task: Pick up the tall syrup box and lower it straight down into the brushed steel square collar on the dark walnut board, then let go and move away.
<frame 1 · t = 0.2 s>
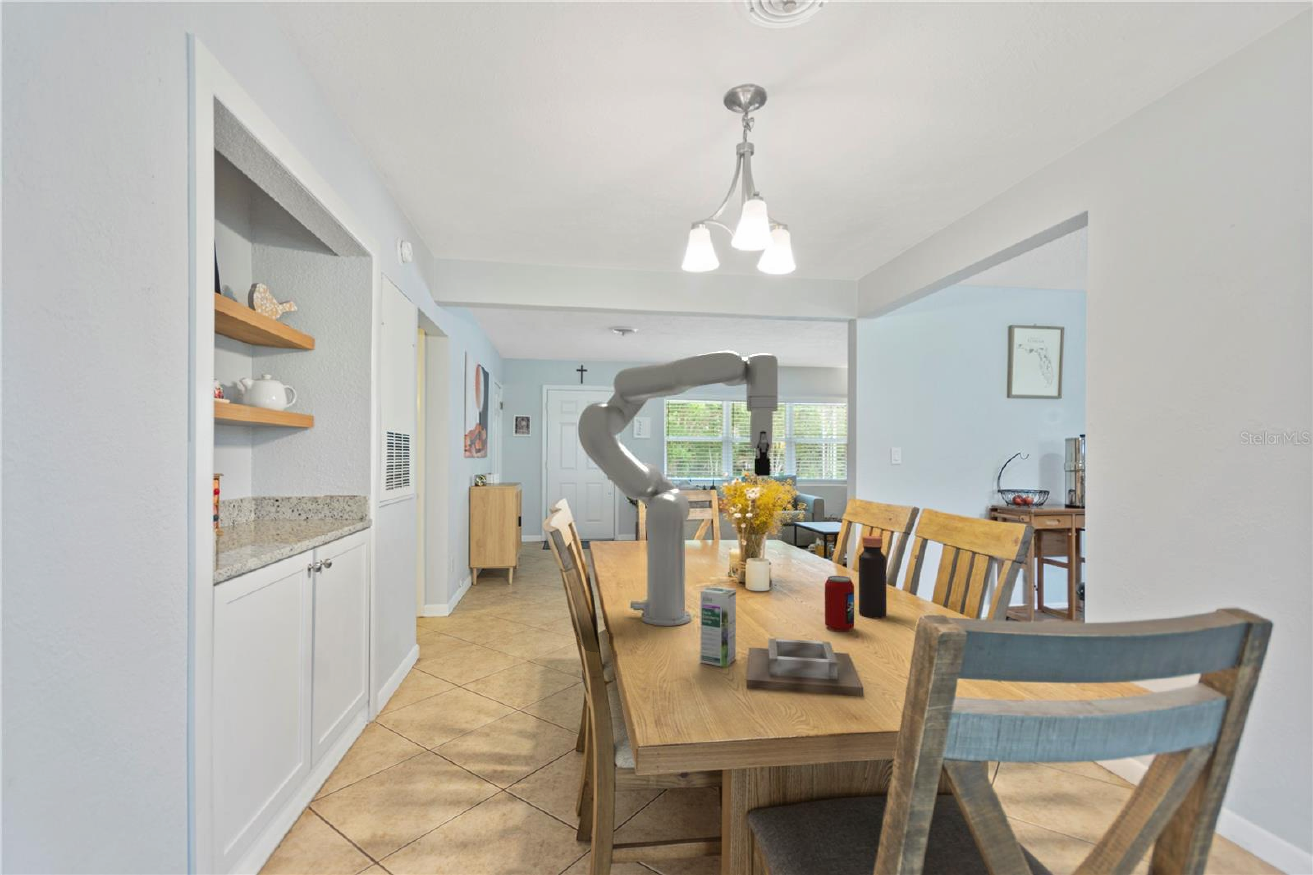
hand: (761, 474, 149), 36 cm above the table, tool pointing down, fingers open, 9 cm apart
bottle: (872, 615, 158), on the table
syrup box: (718, 662, 123), on the table
collar board: (800, 673, 116), on the table
beverage can: (839, 629, 146), on the table
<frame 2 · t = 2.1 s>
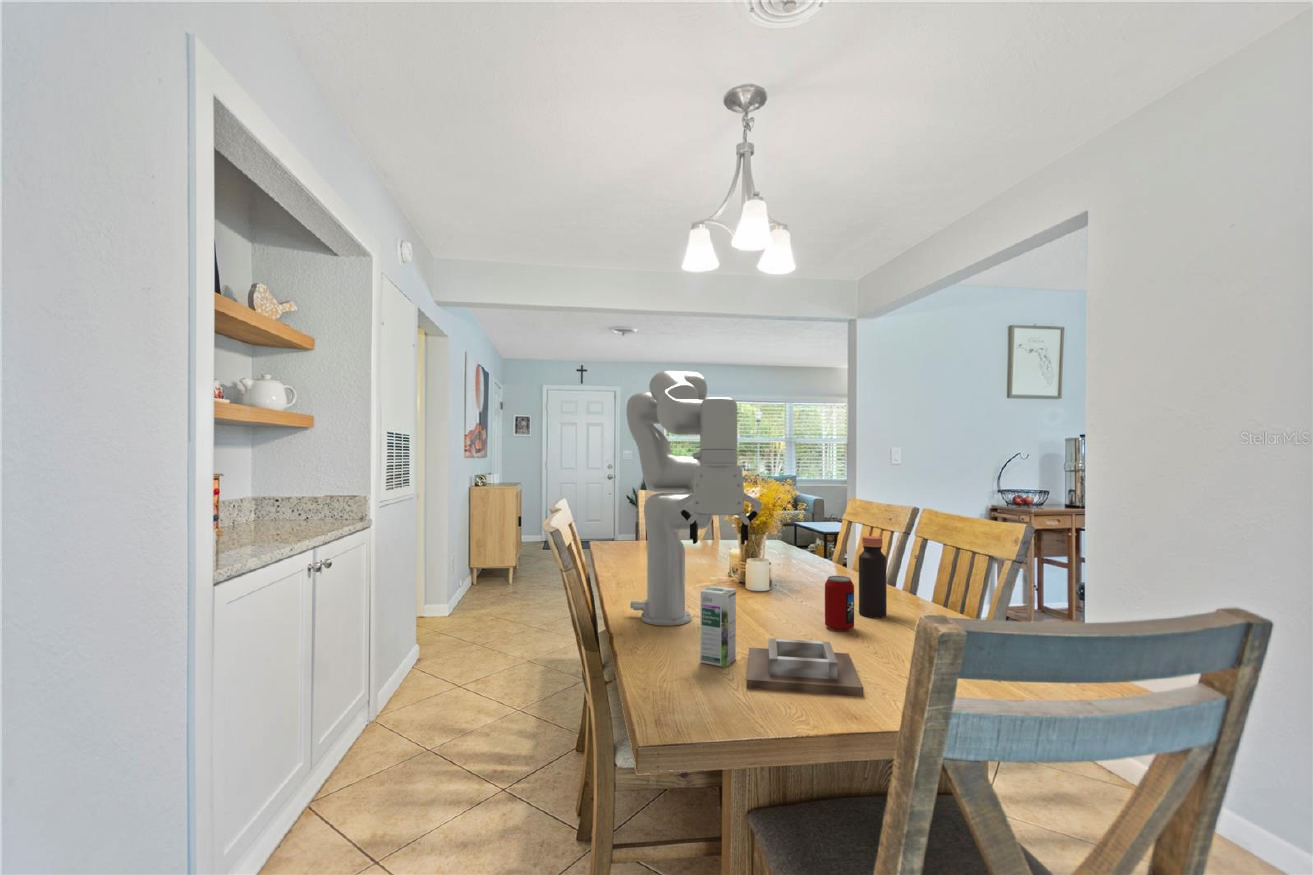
hand: (719, 543, 123), 24 cm above the table, tool pointing down, fingers open, 9 cm apart
nothing on the table moved.
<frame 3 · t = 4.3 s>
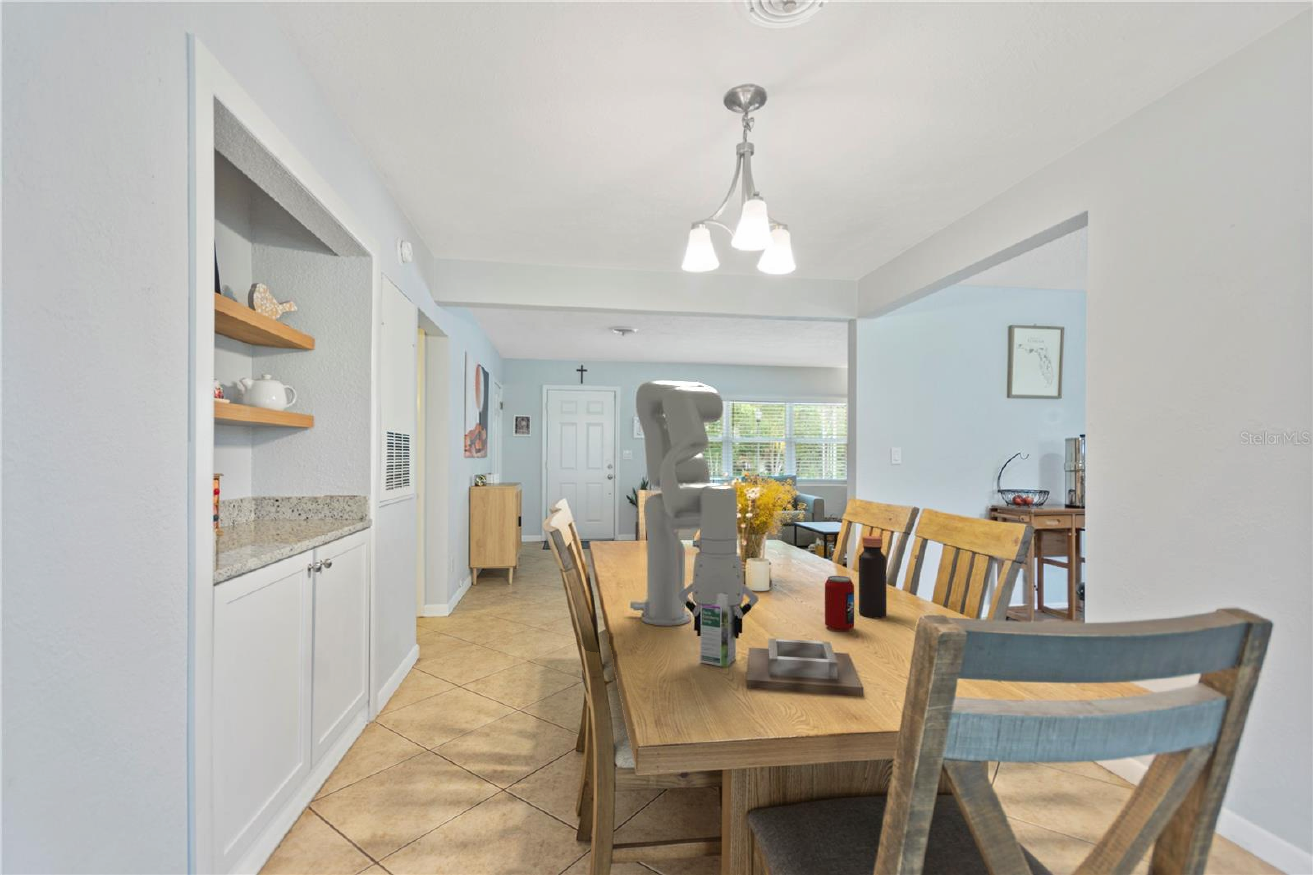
hand: (718, 634, 123), 5 cm above the table, tool pointing down, fingers closed on syrup box, 6 cm apart
syrup box: (718, 662, 123), on the table, touching gripper
everything else where it was.
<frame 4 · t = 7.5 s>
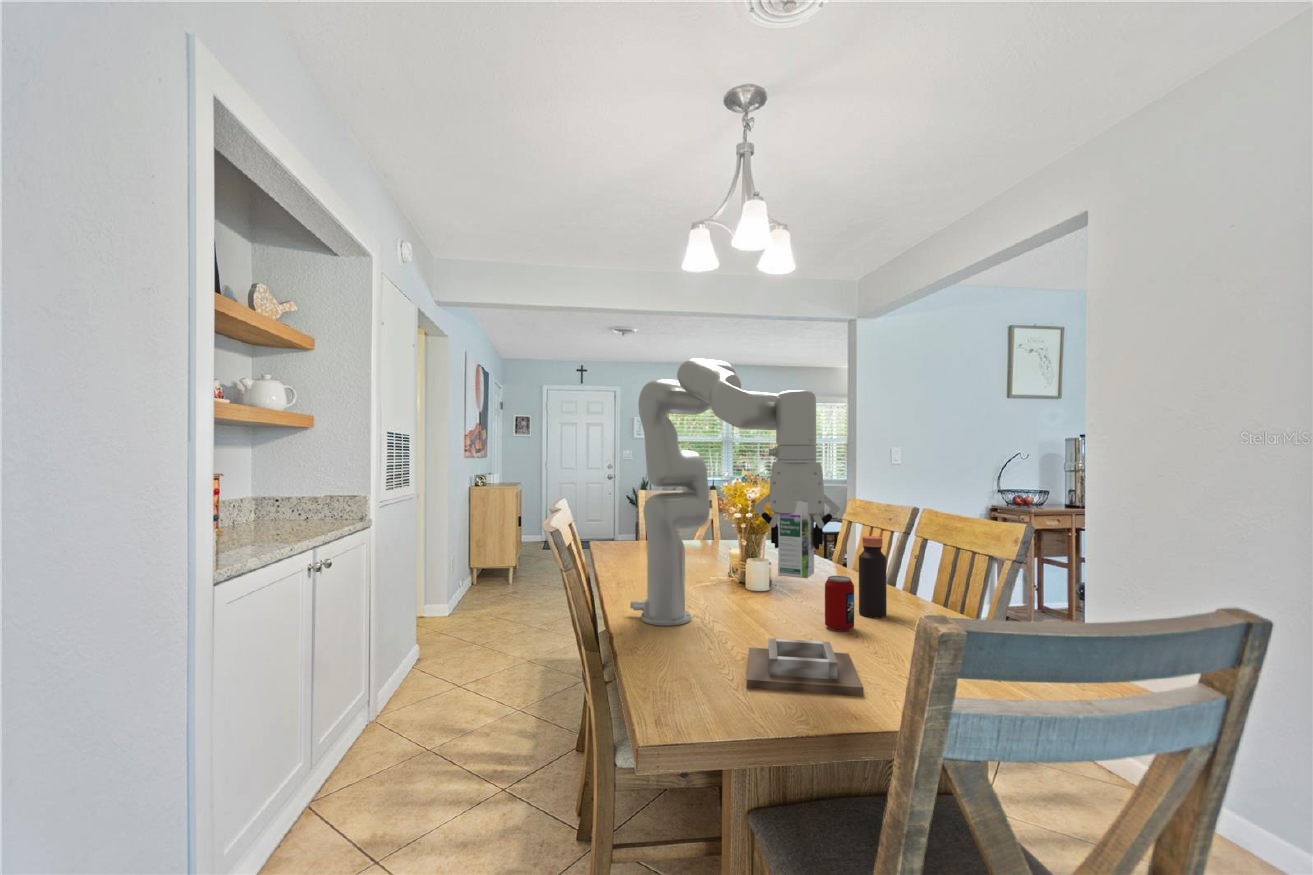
hand: (796, 547, 117), 24 cm above the table, tool pointing down, fingers closed on syrup box, 6 cm apart
syrup box: (796, 575, 117), point 18 cm above the table, touching gripper
everything else where it was.
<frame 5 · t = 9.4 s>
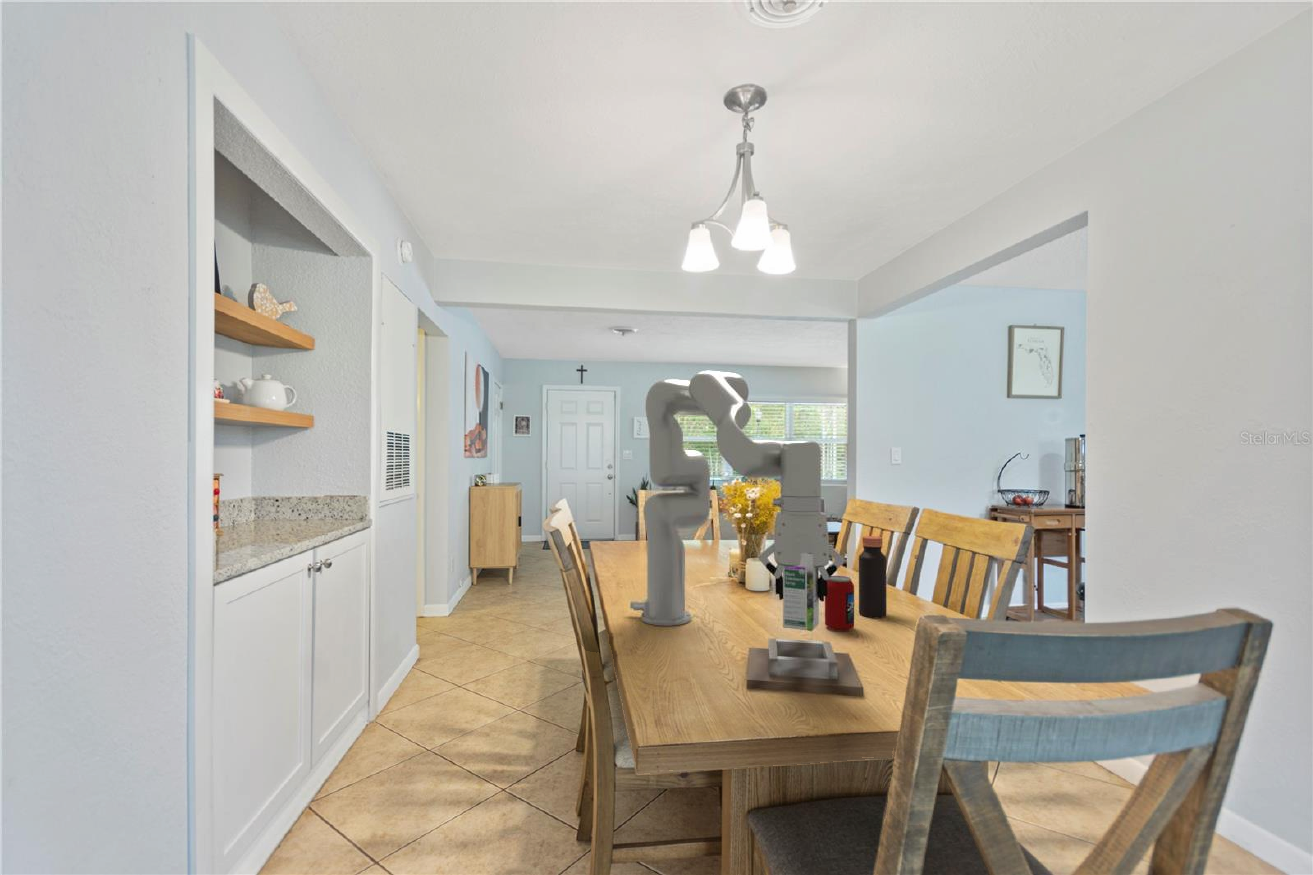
hand: (801, 598, 116), 14 cm above the table, tool pointing down, fingers closed on syrup box, 6 cm apart
syrup box: (801, 627, 116), point 9 cm above the table, touching gripper
everything else where it was.
when the fingers open (8 cm above the table, at t = 11.3 s): syrup box stays where it is, resting on collar board.
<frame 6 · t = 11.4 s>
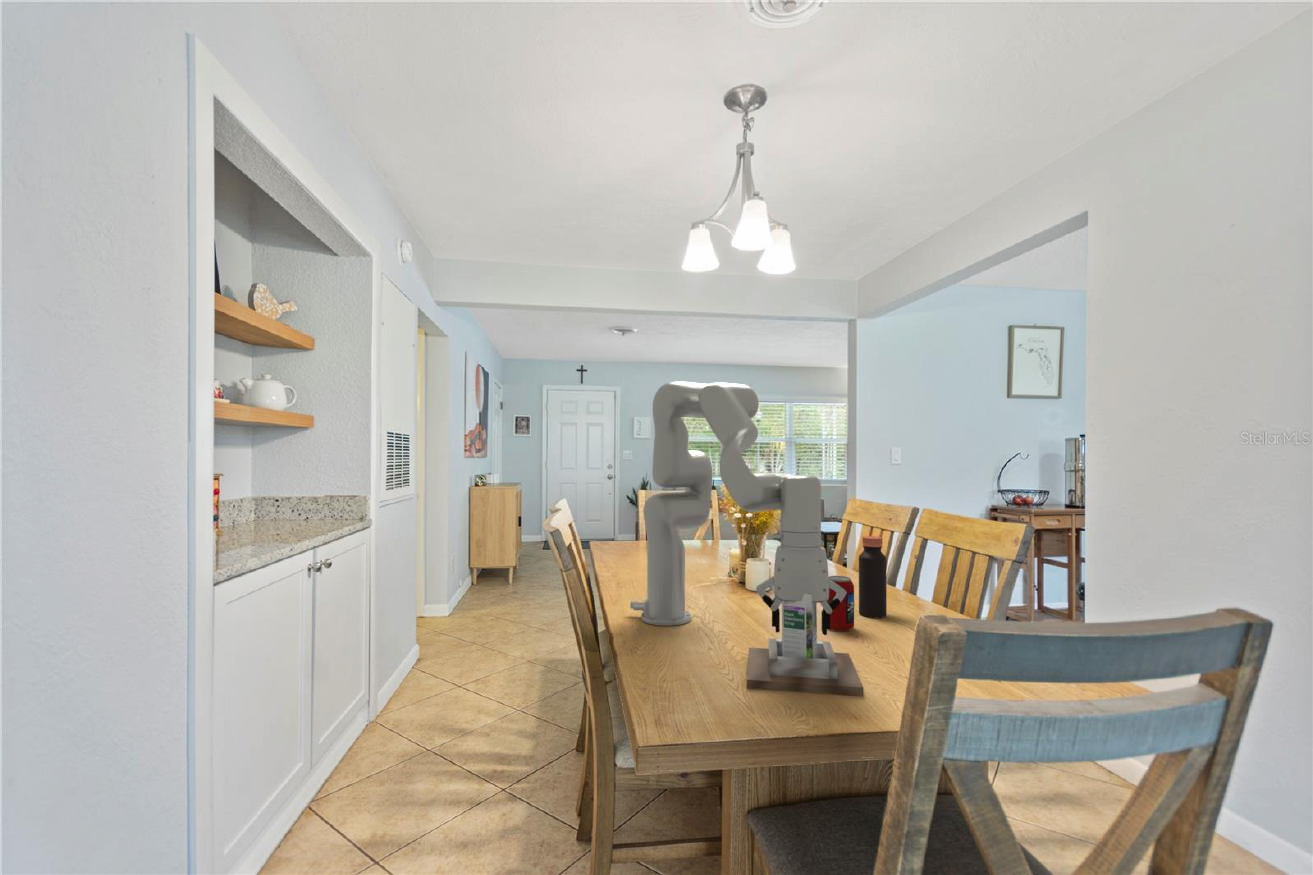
hand: (800, 631, 116), 8 cm above the table, tool pointing down, fingers open, 8 cm apart
syrup box: (799, 666, 116), point 1 cm above the table, touching collar board
everything else where it was.
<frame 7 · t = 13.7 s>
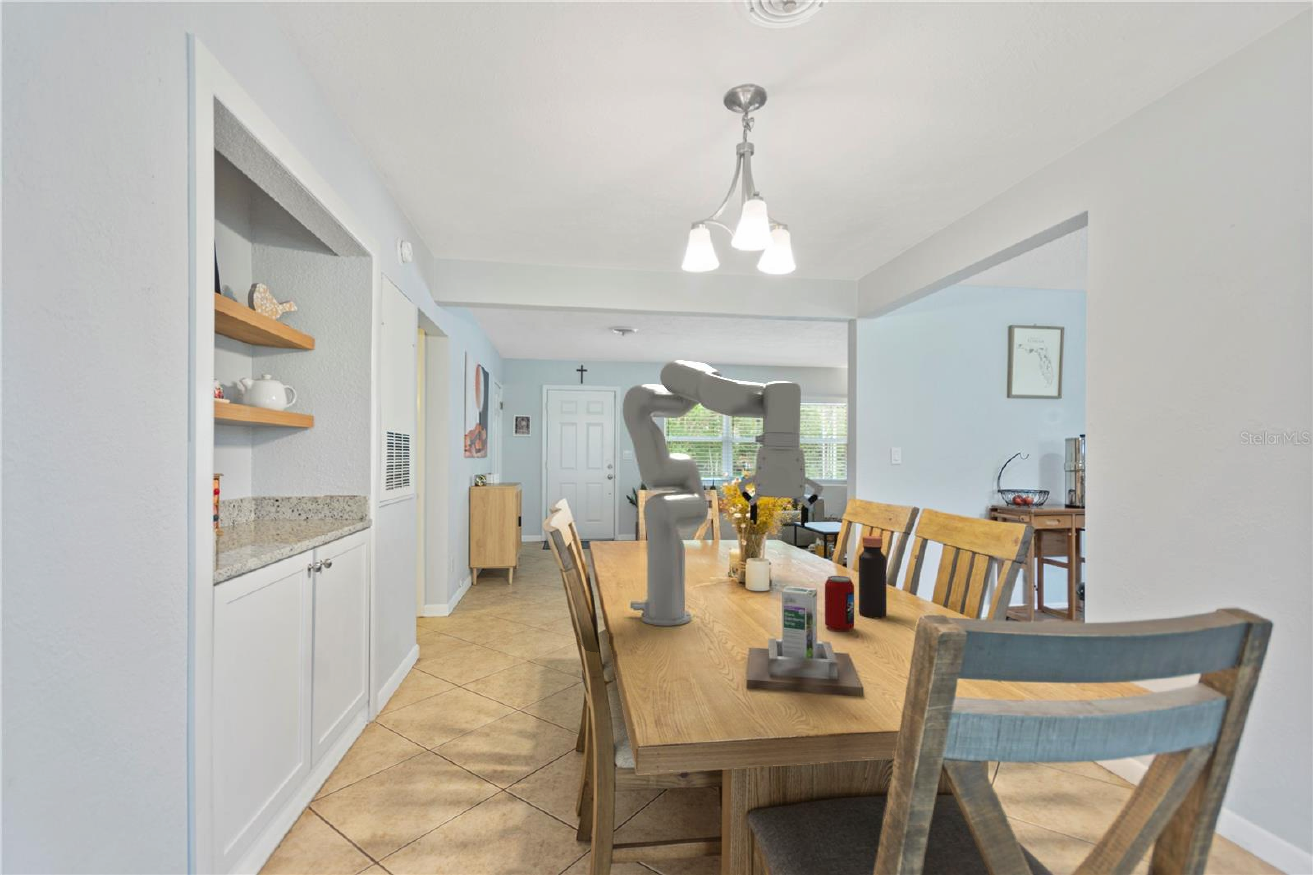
hand: (778, 525, 125), 27 cm above the table, tool pointing down, fingers open, 9 cm apart
nothing on the table moved.
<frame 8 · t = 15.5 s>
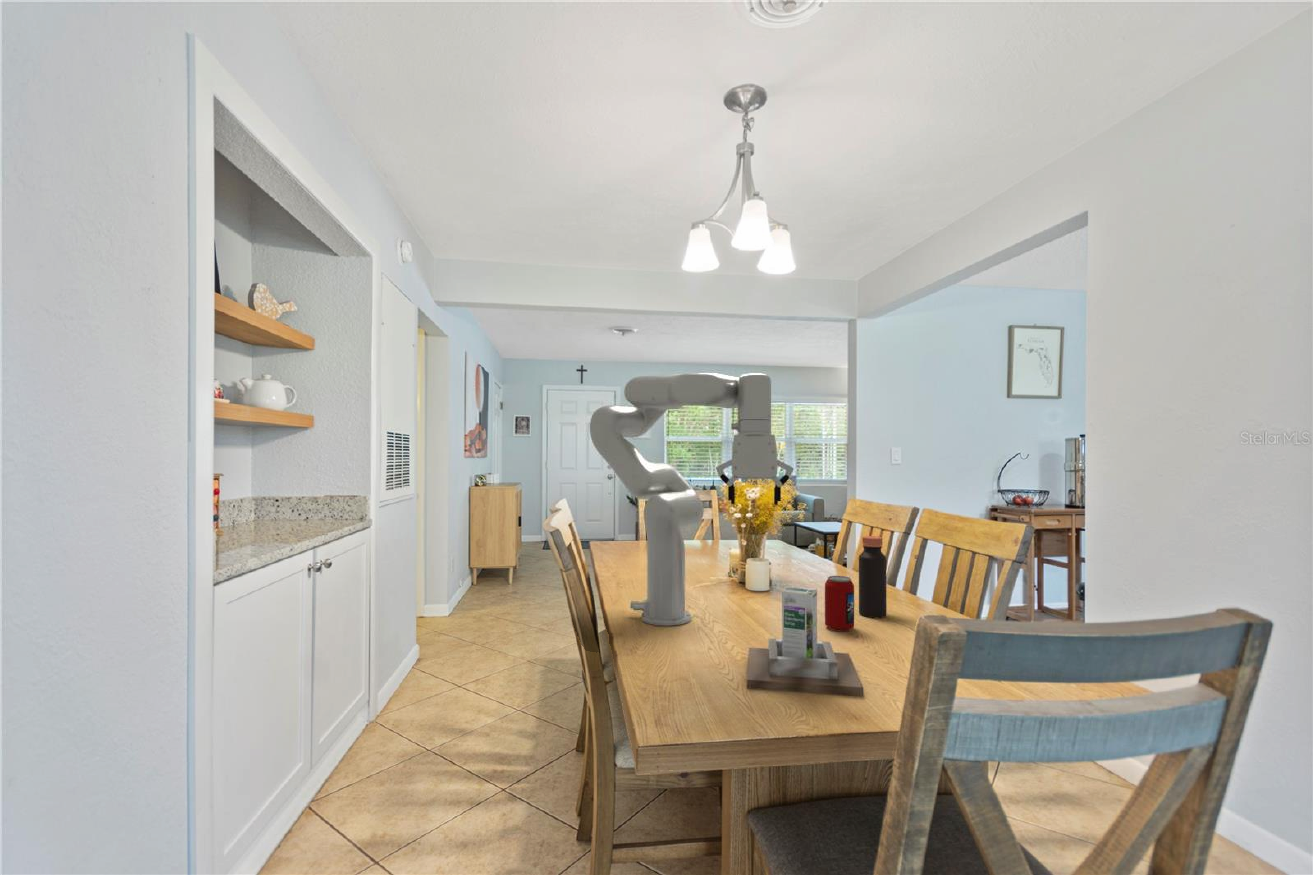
hand: (754, 504, 138), 30 cm above the table, tool pointing down, fingers open, 9 cm apart
nothing on the table moved.
at the end: syrup box 0.2 cm off-centre on the collar board, point 1.3 cm above the collar board's base; syrup box tilted 0°; the gripper is holding nothing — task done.
